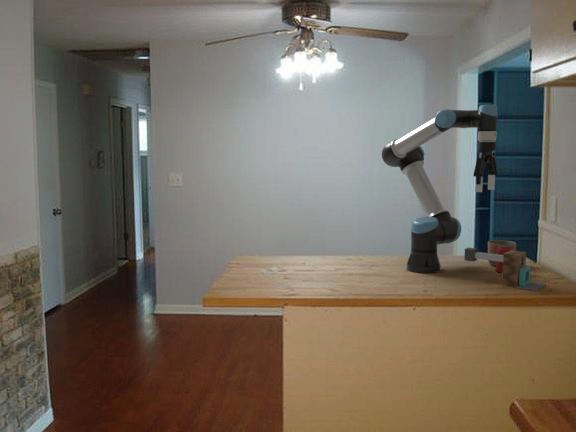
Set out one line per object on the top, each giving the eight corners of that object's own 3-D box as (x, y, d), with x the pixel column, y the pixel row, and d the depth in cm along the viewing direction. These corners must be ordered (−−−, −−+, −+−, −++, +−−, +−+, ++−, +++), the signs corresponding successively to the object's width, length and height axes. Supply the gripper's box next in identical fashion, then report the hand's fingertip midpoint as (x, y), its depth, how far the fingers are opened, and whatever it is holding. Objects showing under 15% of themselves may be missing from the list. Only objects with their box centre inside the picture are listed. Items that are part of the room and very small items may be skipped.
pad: (516, 288, 235) (516, 286, 235) (526, 282, 245) (526, 281, 244) (536, 291, 231) (536, 289, 231) (545, 285, 240) (546, 283, 240)
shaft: (464, 260, 253) (464, 248, 252) (468, 258, 256) (468, 247, 255) (518, 267, 238) (519, 255, 237) (522, 266, 241) (522, 254, 240)
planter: (520, 265, 276) (521, 242, 274) (503, 269, 269) (505, 245, 267) (497, 261, 286) (498, 239, 284) (481, 264, 279) (482, 241, 277)
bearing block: (502, 284, 241) (503, 253, 239) (509, 280, 247) (511, 250, 246) (517, 287, 237) (518, 255, 235) (524, 283, 244) (526, 252, 242)
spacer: (518, 285, 237) (519, 268, 236) (524, 282, 243) (525, 265, 242) (523, 286, 236) (524, 269, 235) (529, 282, 241) (530, 266, 240)
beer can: (512, 273, 260) (513, 247, 258) (496, 273, 261) (498, 246, 259) (510, 270, 266) (511, 244, 265) (494, 269, 267) (495, 243, 266)
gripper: (484, 141, 240) (482, 193, 243) (506, 141, 259) (504, 189, 262) (466, 141, 245) (464, 192, 248) (489, 141, 264) (487, 188, 267)
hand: (485, 191), depth 255 cm, fingers open, 13 cm apart
